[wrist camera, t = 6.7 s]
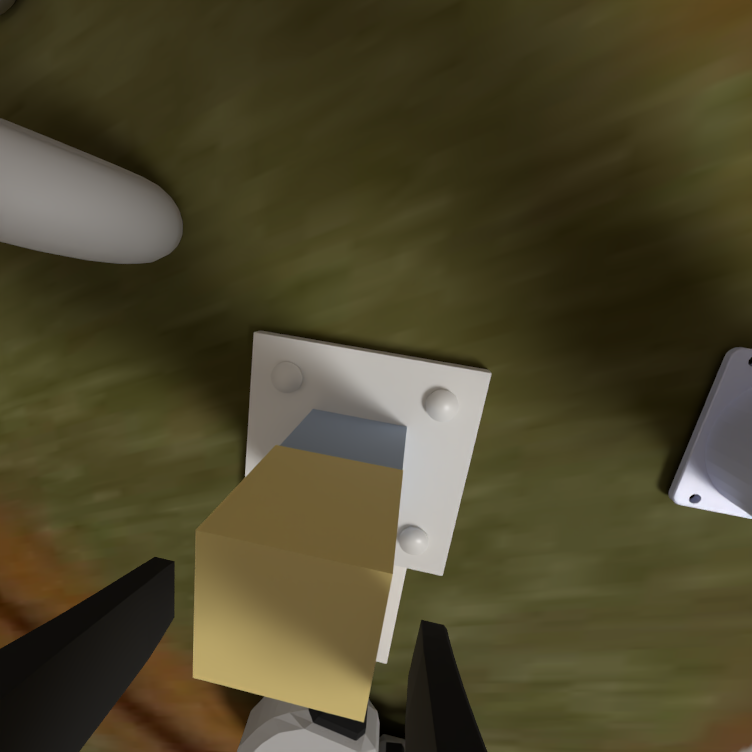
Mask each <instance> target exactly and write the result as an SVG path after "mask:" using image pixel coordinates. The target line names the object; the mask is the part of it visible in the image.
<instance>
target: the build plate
mask: <svg viewBox="0 0 752 752" xmlns="http://www.w3.org/2000/svg"><path fill="white" fill-rule="evenodd" d="M491 374H492V373H491V372H490V371H489V370H488V369H482V368H476V367H470V366H464V365H459V364H453V363H447V362H441V361H435V360H430V359H424V358H418V357H412V356H406V355H400V354H395V353H389V352H383V351H377V350H371V349H366V348H360V347H354V346H348V345H342V344H337V343H331V342H325V341H319V340H313V339H307V338H302V337H296V336H290V335H284V334H278V333H273V332H267V331H257V332H254V337H253V353H252V369H251V386H250V402H249V419H248V435H247V452H246V468H245V477H246V476H247V475H248V474H249V473H250V472H251V471H252V470H253V468H254V467H255V466H256V465H257V464H258V463H259V462H260V461H261V460H262V459H263V458H264V457H265V456H266V455H267V454H268V452H269V451H270V450H271V449H272V448H273V447H274V446H275V445H279V446H280V445H281V444H282V442H283V441H284V440H285V439H286V438H287V437H288V436H289V435H290V434H291V433H292V431H293V430H294V429H295V428H296V427H297V426H298V425H299V424H300V423H301V422H302V420H303V419H304V418H305V417H306V416H307V415H308V414H309V413H310V412H311V411H312V409H317V410H322V411H327V412H332V413H338V414H343V415H348V416H354V417H359V418H364V419H369V420H375V421H380V422H385V423H391V424H396V425H401V426H406V427H407V432H406V441H405V451H404V460H403V469H402V470H403V479H402V488H401V498H400V508H399V518H398V528H397V538H396V548H395V558H394V565H396V566H400V567H405V568H409V569H414V570H418V571H422V572H427V573H431V574H436V575H440V576H443V572H444V568H445V563H446V559H447V555H448V551H449V547H450V543H451V539H452V535H453V530H454V526H455V522H456V518H457V514H458V510H459V506H460V501H461V497H462V493H463V489H464V485H465V481H466V477H467V473H468V468H469V464H470V460H471V456H472V452H473V448H474V444H475V440H476V435H477V431H478V427H479V423H480V419H481V415H482V411H483V407H484V402H485V398H486V394H487V390H488V386H489V382H490V378H491Z"/></svg>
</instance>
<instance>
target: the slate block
mask: <svg viewBox="0 0 752 752" xmlns="http://www.w3.org/2000/svg"><path fill="white" fill-rule="evenodd" d="M406 432H407V427H406V426H401V425H396V424H391V423H385V422H380V421H375V420H369V419H364V418H359V417H354V416H348V415H343V414H338V413H332V412H327V411H322V410H317V409H312V411H311V412H310V413H309V414H308V415H307V416H306V417H305V418H304V419H303V420H302V422H301V423H300V424H299V425H298V426H297V427H296V428H295V429H294V430H293V431H292V433H291V434H290V435H289V436H288V437H287V438H286V439H285V440H284V441H283V442H282V444H281V445H280V446H284V447H289V448H294V449H299V450H304V451H309V452H315V453H320V454H325V455H330V456H335V457H340V458H345V459H350V460H355V461H360V462H365V463H370V464H375V465H380V466H385V467H390V468H395V469H400V470H402V469H403V460H404V451H405V441H406Z"/></svg>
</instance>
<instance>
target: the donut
mask: <svg viewBox="0 0 752 752" xmlns="http://www.w3.org/2000/svg"><path fill="white" fill-rule="evenodd" d="M182 235H183V221H182V218H181V214H180V211H179V209H178V207H177V206H176V204H175V202H174V201H173V199H172V198H171V197H170V196H169V195H168V194H167V193H166V192H165V191H164V190H163V189H162V188H161V187H160V186H158V185H156V184H155V183H153V182H151V181H149V180H148V179H146V178H144V177H142V176H140V175H137V174H135V173H133V172H131V171H128V170H126V169H124V168H121V167H119V166H117V165H115V164H112V163H110V162H107V161H105V160H103V159H100V158H98V157H95V156H93V155H91V154H88V153H86V152H83V151H81V150H78V149H76V148H74V147H71V146H69V145H66V144H64V143H61V142H59V141H56V140H54V139H52V138H49V137H47V136H44V135H42V134H39V133H37V132H34V131H32V130H29V129H27V128H24V127H22V126H19V125H17V124H14V123H12V122H9V121H7V120H4V119H2V118H0V242H4V243H8V244H12V245H16V246H20V247H24V248H28V249H32V250H36V251H40V252H46V253H51V254H56V255H62V256H67V257H72V258H78V259H83V260H90V261H98V262H107V263H115V264H140V263H151V262H154V261H156V260H158V259H160V258H162V257H164V256H166V255H168V254H170V253H171V252H172V251H173V250H174V249H175V248H176V247H177V246H178V244H179V242H180V240H181V237H182Z"/></svg>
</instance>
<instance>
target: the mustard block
mask: <svg viewBox="0 0 752 752" xmlns="http://www.w3.org/2000/svg"><path fill="white" fill-rule="evenodd" d="M402 479H403V470H400V469H395V468H390V467H385V466H380V465H375V464H370V463H365V462H360V461H355V460H350V459H345V458H340V457H335V456H330V455H325V454H320V453H315V452H309V451H304V450H299V449H294V448H289V447H284V446H279V445H275V446H274V447H273V448H272V449H271V450H270V451H269V452H268V454H267V455H266V456H265V457H264V458H263V459H262V460H261V461H260V462H259V463H258V464H257V465H256V466H255V467H254V468H253V470H252V471H251V472H250V473H249V474H248V475H247V476H246V477H245V478H244V479H243V480H242V481H241V482H240V483H239V484H238V485H237V487H236V488H235V489H234V490H233V491H232V492H231V493H230V494H229V495H228V496H227V497H226V498H225V499H224V500H223V501H222V503H221V504H220V505H219V506H218V507H217V508H216V509H215V510H214V511H213V512H212V513H211V514H210V515H209V516H208V517H207V518H206V520H205V521H204V522H203V523H202V524H201V525H200V526H199V527H198V528H197V529H196V542H195V594H194V645H193V678H196V679H200V680H204V681H208V682H212V683H215V684H219V685H223V686H227V687H231V688H235V689H238V690H242V691H246V692H250V693H254V694H257V695H261V696H265V697H269V698H273V699H276V700H280V701H284V702H288V703H292V704H296V705H299V706H303V707H307V708H311V709H315V710H318V711H322V712H326V713H330V714H334V715H338V716H341V717H345V718H349V719H353V720H357V721H360V722H364V719H365V714H366V709H367V704H368V699H369V694H370V689H371V683H372V678H373V673H374V668H375V663H376V658H377V653H378V648H379V642H380V637H381V632H382V627H383V622H384V617H385V612H386V607H387V602H388V596H389V591H390V586H391V581H392V576H393V568H394V558H395V548H396V538H397V528H398V518H399V508H400V498H401V488H402Z"/></svg>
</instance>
